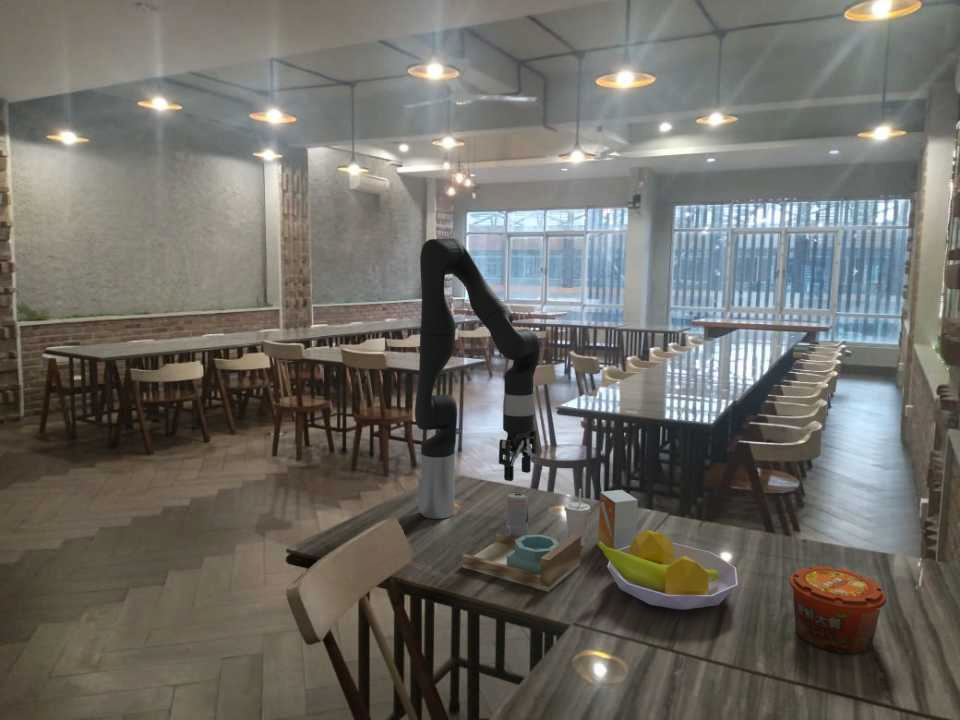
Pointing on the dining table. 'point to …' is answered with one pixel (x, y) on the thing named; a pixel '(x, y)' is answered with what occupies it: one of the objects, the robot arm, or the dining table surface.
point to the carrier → (530, 552)
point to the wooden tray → (551, 570)
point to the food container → (836, 608)
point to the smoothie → (577, 518)
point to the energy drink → (517, 515)
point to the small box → (617, 519)
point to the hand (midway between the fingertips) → (517, 476)
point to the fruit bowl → (670, 572)
